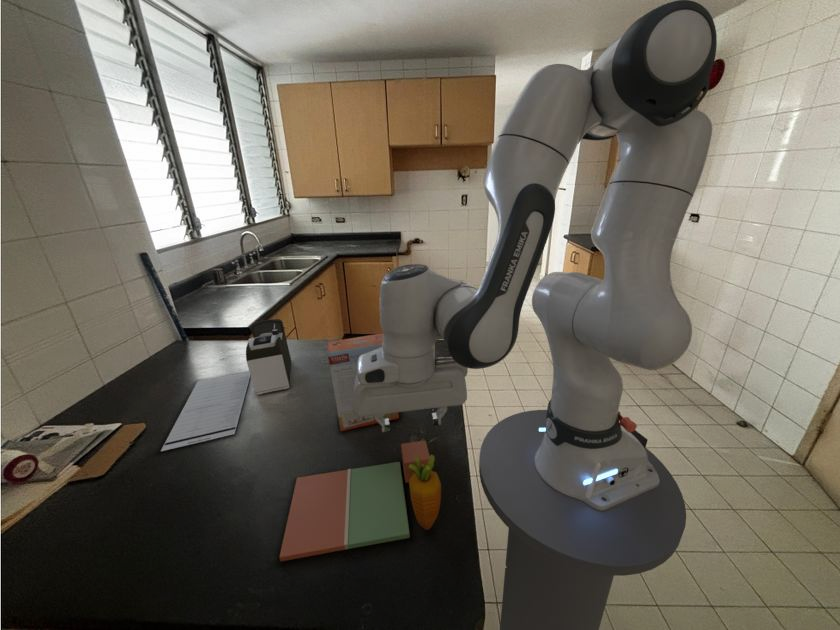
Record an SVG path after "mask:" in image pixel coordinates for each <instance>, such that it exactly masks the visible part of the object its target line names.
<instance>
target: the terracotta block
mask: <svg viewBox="0 0 840 630" xmlns="http://www.w3.org/2000/svg"><path fill="white" fill-rule="evenodd" d="M400 451H401V462H402V463H401V464H402V470H403V477H404V484H409V480H410V478H411V477H412V475H413V474H414V472H413V471H412V470H411V469H410V468H409V465H410V464H412V465H414V466H415V467H417V469H418V466H417V463H416V461H415V458H414V456H415V455H417V456H418V458H419V461H420V464H421V465H422V464H424V465H425V466H427V465H428V461H429V458H430V452H429V447H428V444H427V441H426V439H425V440H419V441H411V442H405V443H401V444H400ZM418 470H419V469H418Z"/></svg>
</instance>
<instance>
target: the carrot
mask: <svg viewBox="0 0 840 630" xmlns="http://www.w3.org/2000/svg"><path fill="white" fill-rule="evenodd" d="M429 456H430V458H429V461H428V465H427V466H425V465H424V464H422V465H421V464H420V461H419V458H418V456H417V455H415V456H414V458H415V461H416V463H417V466H418V469H419V470H418V469H417V467H415V466H414V465H412V464H410V465H409V468H410V469H411V470H412V471H413V472H414V474H413V475H412V477H411V478H410V480H409V483H408V485H409V494H410V502H411V504H412V509H413V512H414V516H415V518H416V522H417V523H418V524H419V526H420V527H421V528H422V529H424V530H425V531H429V530H431V528H432V527H433V525H434V524H435V522H436V520H437V518H438V515H439V512H440V507H441V501H442V484H441V481H440V477H439V475H438V472H436V471H434V470H433V469H434V466H435V459H436V456H435V455H433V454H429Z"/></svg>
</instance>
